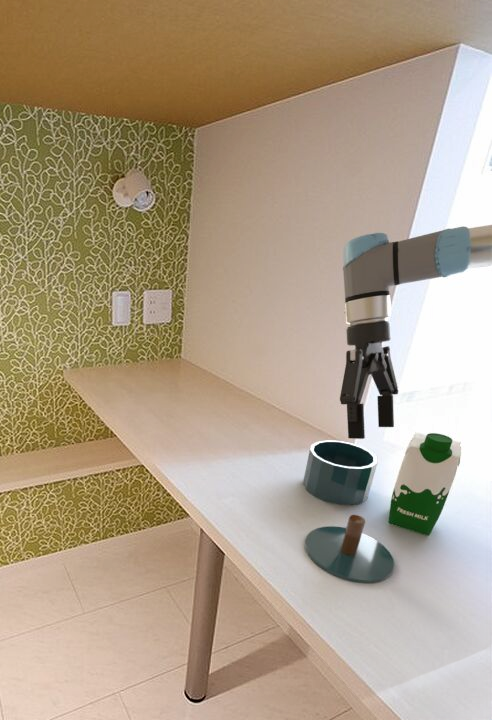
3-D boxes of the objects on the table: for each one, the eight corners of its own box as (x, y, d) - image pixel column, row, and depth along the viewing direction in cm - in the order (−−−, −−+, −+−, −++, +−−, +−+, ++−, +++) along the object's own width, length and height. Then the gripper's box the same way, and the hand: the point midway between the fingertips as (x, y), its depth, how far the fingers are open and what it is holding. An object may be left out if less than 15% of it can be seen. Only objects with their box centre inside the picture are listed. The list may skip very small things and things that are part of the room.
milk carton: (382, 526, 87) (410, 436, 78) (388, 505, 94) (415, 420, 85) (433, 542, 83) (468, 448, 74) (435, 519, 89) (468, 431, 81)
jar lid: (412, 574, 75) (426, 535, 71) (344, 594, 70) (356, 555, 67) (348, 525, 87) (358, 490, 84) (287, 540, 83) (294, 503, 79)
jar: (380, 500, 96) (392, 462, 91) (331, 512, 91) (340, 472, 87) (336, 472, 107) (344, 437, 103) (290, 480, 103) (297, 444, 99)
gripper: (375, 325, 94) (378, 422, 97) (315, 327, 78) (322, 442, 81) (414, 319, 88) (416, 422, 91) (358, 319, 72) (363, 444, 75)
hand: (372, 432), depth 86 cm, fingers open, 13 cm apart
